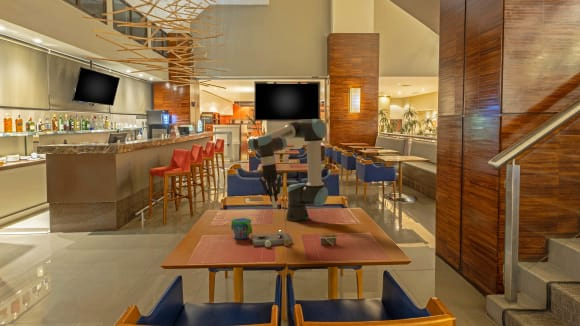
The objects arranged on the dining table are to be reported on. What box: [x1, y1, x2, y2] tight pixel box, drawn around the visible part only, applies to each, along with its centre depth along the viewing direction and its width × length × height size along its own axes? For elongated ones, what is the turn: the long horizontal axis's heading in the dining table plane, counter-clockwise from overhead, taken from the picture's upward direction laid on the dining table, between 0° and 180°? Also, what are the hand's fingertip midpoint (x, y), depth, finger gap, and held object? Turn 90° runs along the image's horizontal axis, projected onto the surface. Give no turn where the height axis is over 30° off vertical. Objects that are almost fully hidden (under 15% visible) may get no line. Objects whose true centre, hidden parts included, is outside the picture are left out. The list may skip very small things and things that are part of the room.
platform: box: [318, 232, 339, 246], centre depth 221 cm, size 12×18×7 cm, turn 96°
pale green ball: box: [264, 240, 272, 248], centre depth 219 cm, size 4×4×4 cm
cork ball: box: [284, 239, 292, 247], centre depth 220 cm, size 4×4×4 cm
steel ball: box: [276, 229, 285, 237], centre depth 229 cm, size 4×4×4 cm
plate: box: [250, 232, 293, 248], centre depth 229 cm, size 20×13×2 cm, turn 100°
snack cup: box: [230, 217, 253, 240], centre depth 237 cm, size 16×10×10 cm
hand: (275, 207), depth 233 cm, fingers closed
